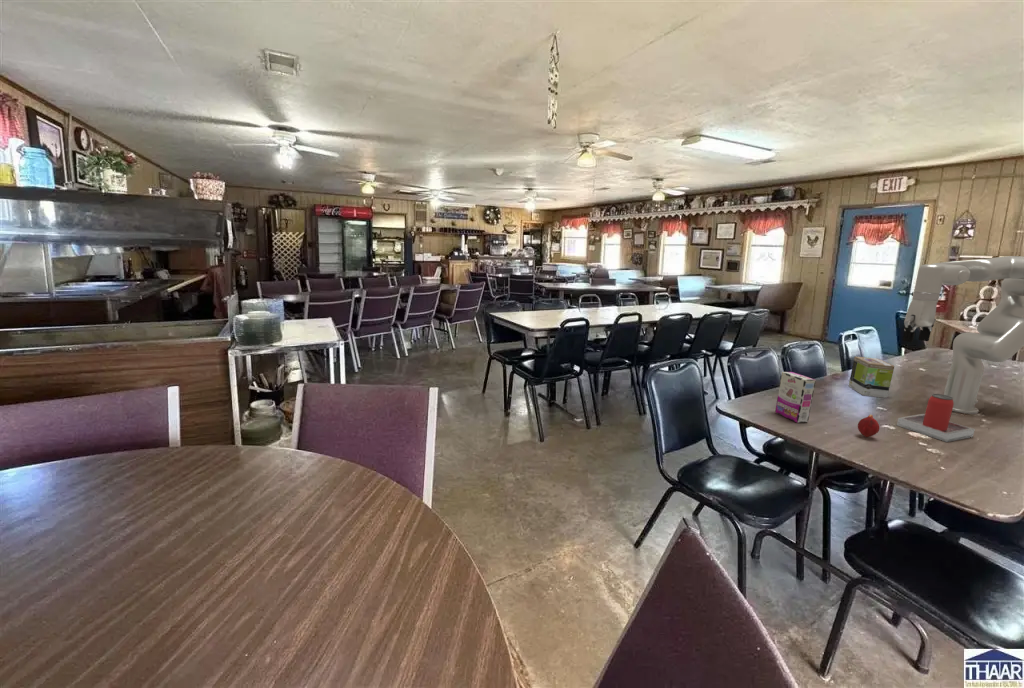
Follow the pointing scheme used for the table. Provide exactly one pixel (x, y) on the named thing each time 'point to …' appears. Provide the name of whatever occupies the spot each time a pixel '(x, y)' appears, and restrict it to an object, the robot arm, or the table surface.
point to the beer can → (938, 412)
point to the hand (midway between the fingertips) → (915, 341)
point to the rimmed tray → (949, 435)
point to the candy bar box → (795, 396)
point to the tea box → (871, 376)
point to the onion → (868, 426)
